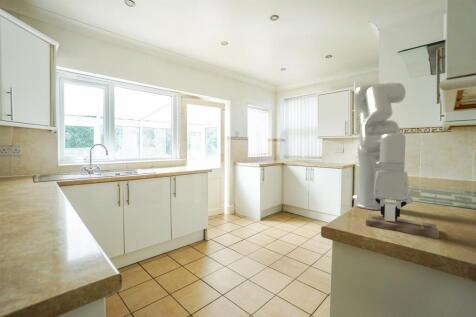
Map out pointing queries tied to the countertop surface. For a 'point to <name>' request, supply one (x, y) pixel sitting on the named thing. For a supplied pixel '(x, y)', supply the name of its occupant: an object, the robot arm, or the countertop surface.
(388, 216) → the fader tab
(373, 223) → the fader board
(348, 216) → the countertop surface
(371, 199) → the robot arm
